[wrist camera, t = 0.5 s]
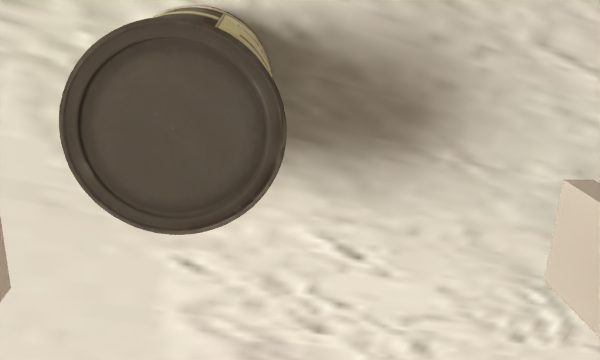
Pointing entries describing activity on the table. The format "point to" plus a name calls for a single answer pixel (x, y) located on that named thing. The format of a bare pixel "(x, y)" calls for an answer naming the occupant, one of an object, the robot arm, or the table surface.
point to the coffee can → (174, 121)
